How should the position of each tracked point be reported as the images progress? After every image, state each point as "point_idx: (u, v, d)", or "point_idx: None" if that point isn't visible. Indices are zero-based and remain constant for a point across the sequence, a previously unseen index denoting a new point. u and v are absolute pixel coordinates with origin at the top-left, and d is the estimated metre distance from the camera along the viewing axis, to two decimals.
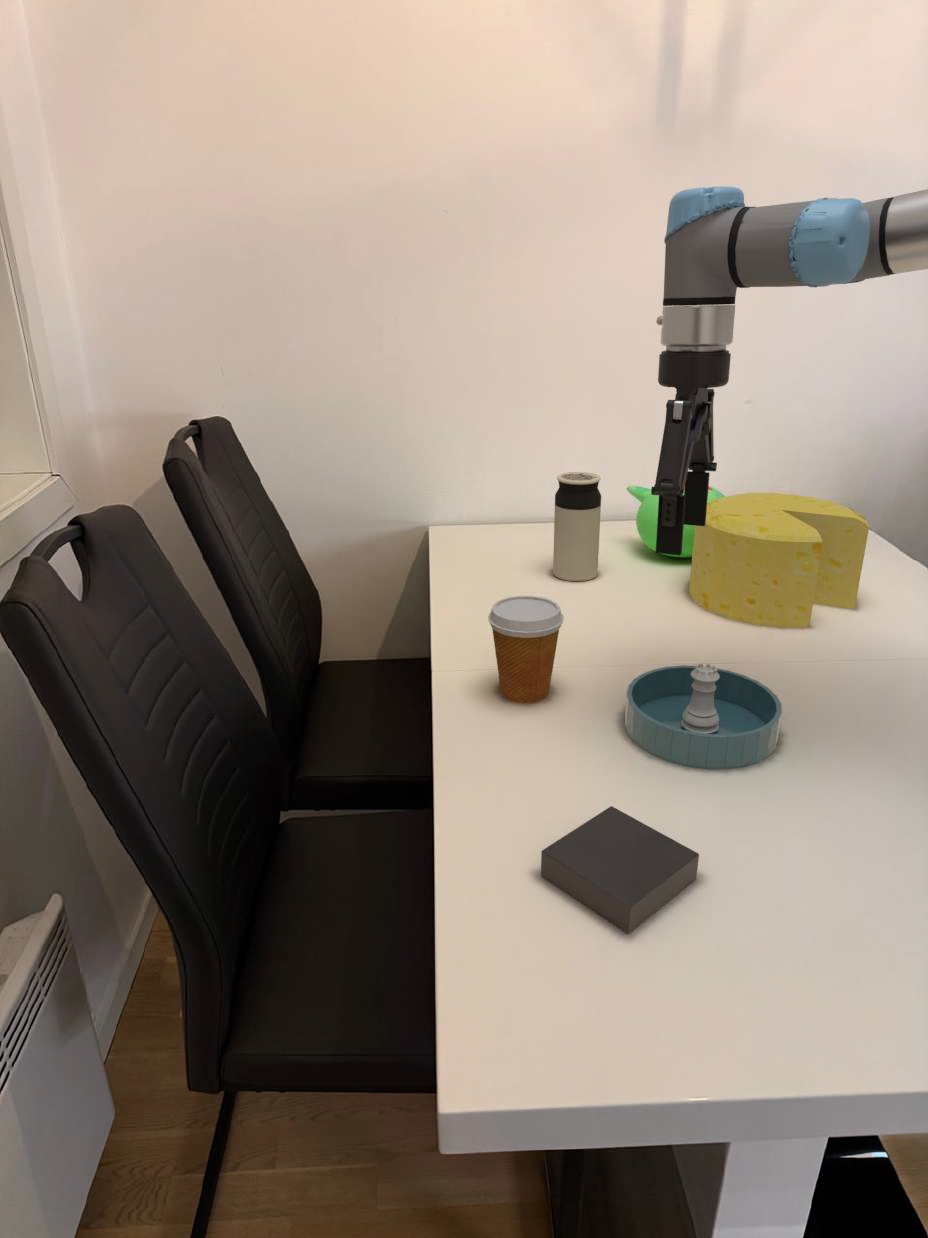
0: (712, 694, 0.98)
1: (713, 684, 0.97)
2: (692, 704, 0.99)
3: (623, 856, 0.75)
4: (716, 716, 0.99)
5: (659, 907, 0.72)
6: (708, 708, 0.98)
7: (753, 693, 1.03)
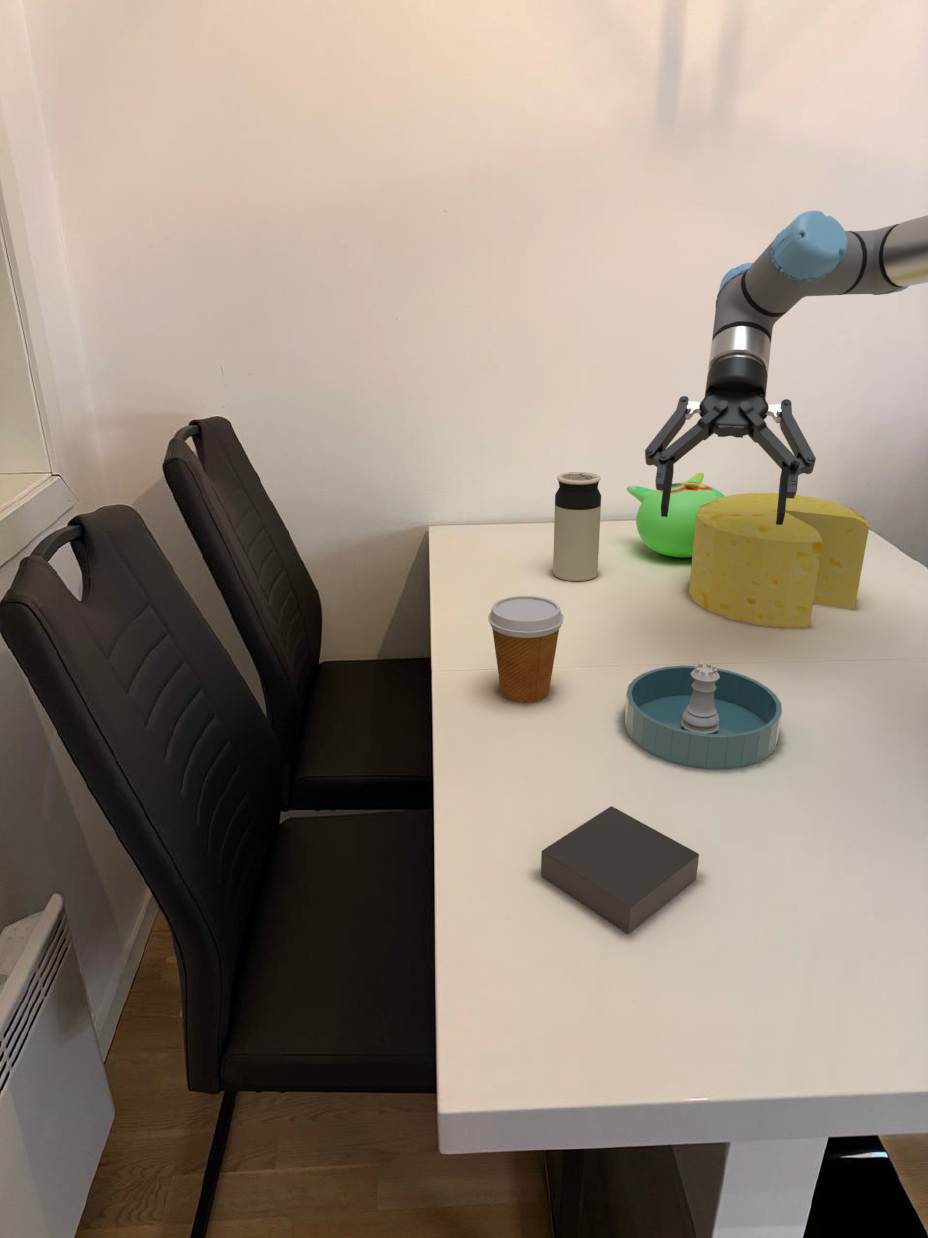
0: (712, 694, 0.98)
1: (713, 684, 0.97)
2: (692, 704, 0.99)
3: (623, 856, 0.75)
4: (716, 716, 0.99)
5: (659, 907, 0.72)
6: (708, 708, 0.98)
7: (753, 693, 1.03)
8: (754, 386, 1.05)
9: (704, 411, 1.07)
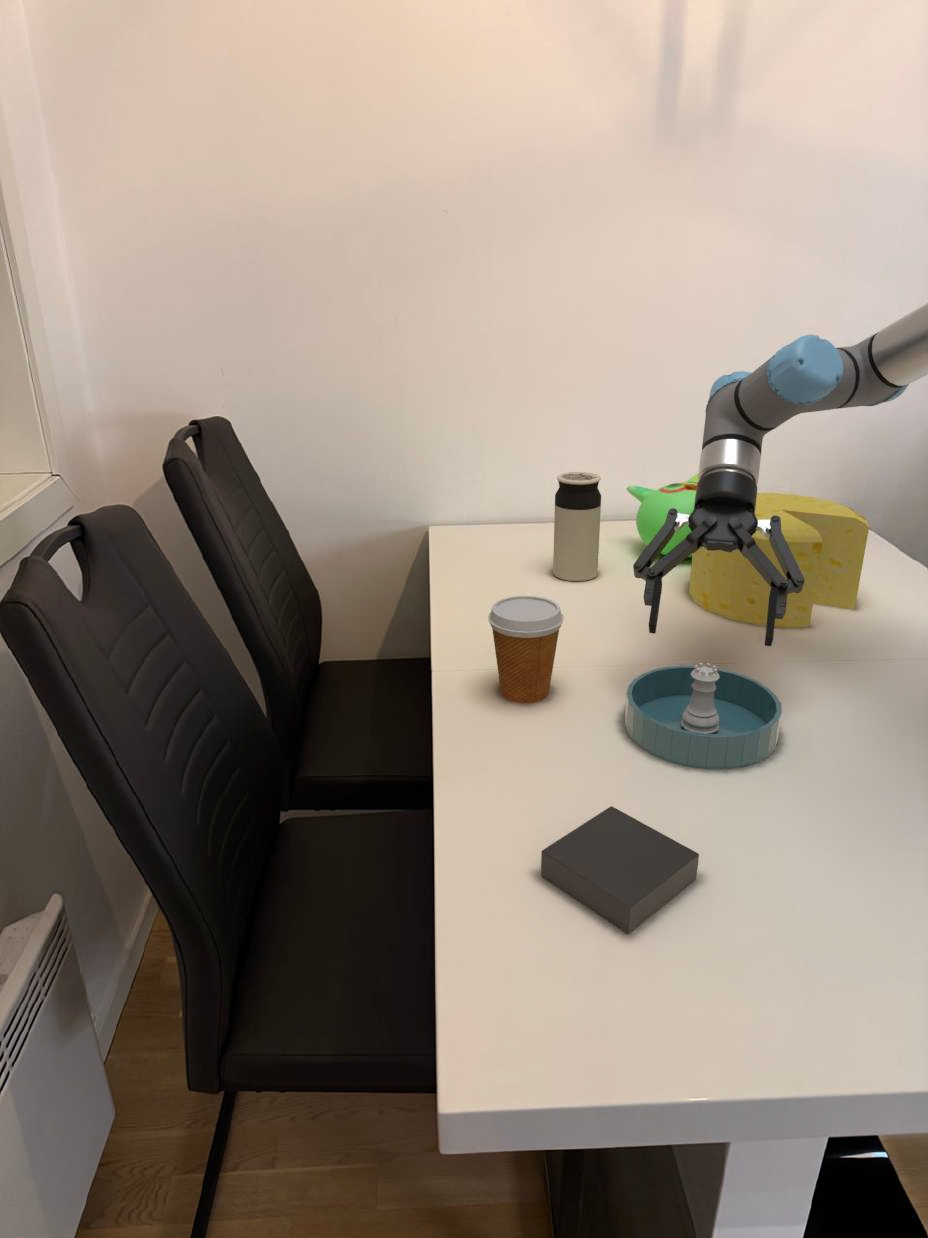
0: (712, 694, 0.98)
1: (713, 684, 0.97)
2: (692, 704, 0.99)
3: (623, 856, 0.75)
4: (716, 716, 0.99)
5: (659, 907, 0.72)
6: (708, 708, 0.98)
7: (753, 693, 1.03)
8: (743, 502, 1.04)
9: (693, 525, 1.06)
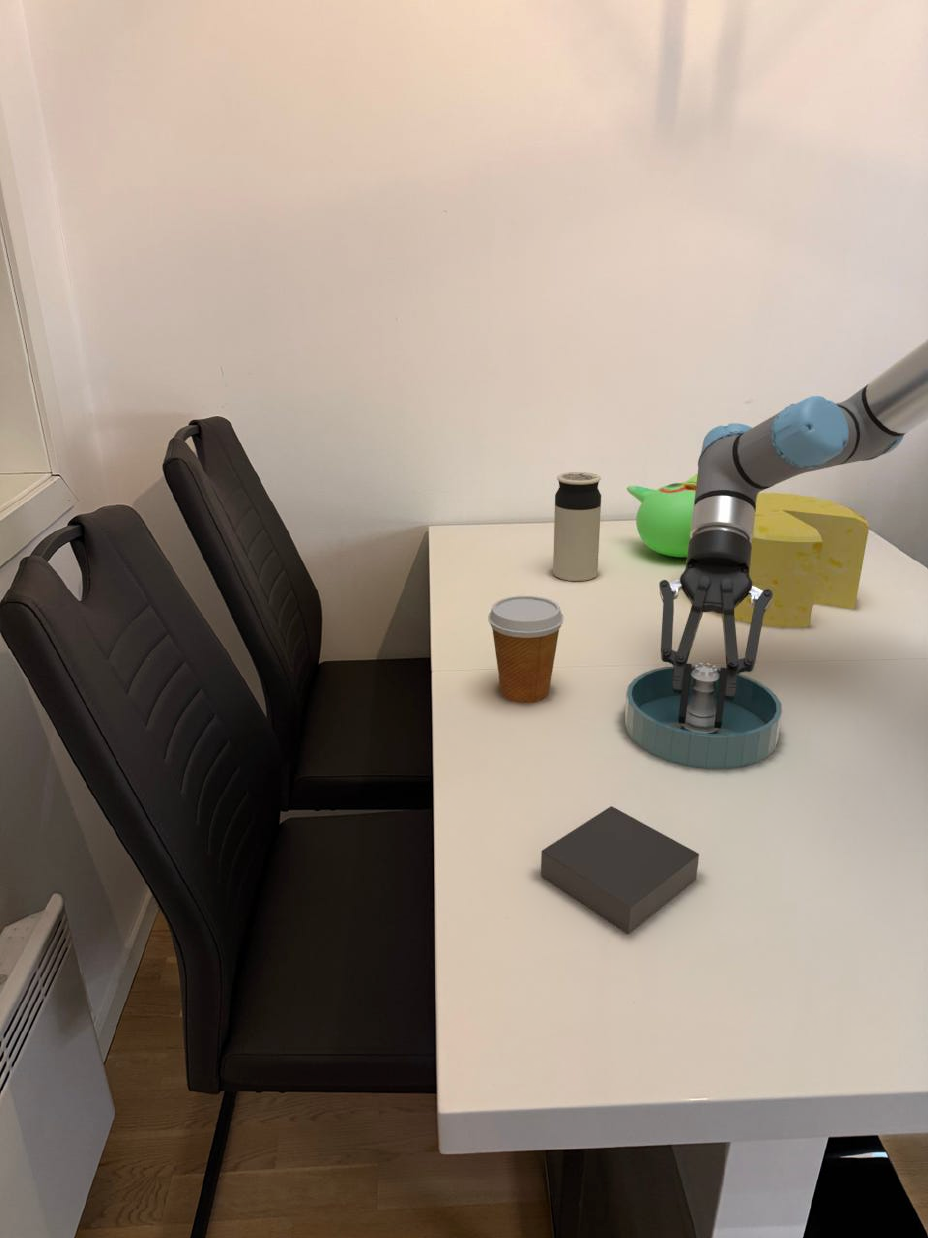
0: (712, 694, 0.98)
1: (713, 684, 0.97)
2: (692, 704, 0.99)
3: (623, 856, 0.75)
4: None
5: (659, 907, 0.72)
6: (708, 708, 0.98)
7: (753, 693, 1.03)
8: (737, 562, 1.00)
9: None
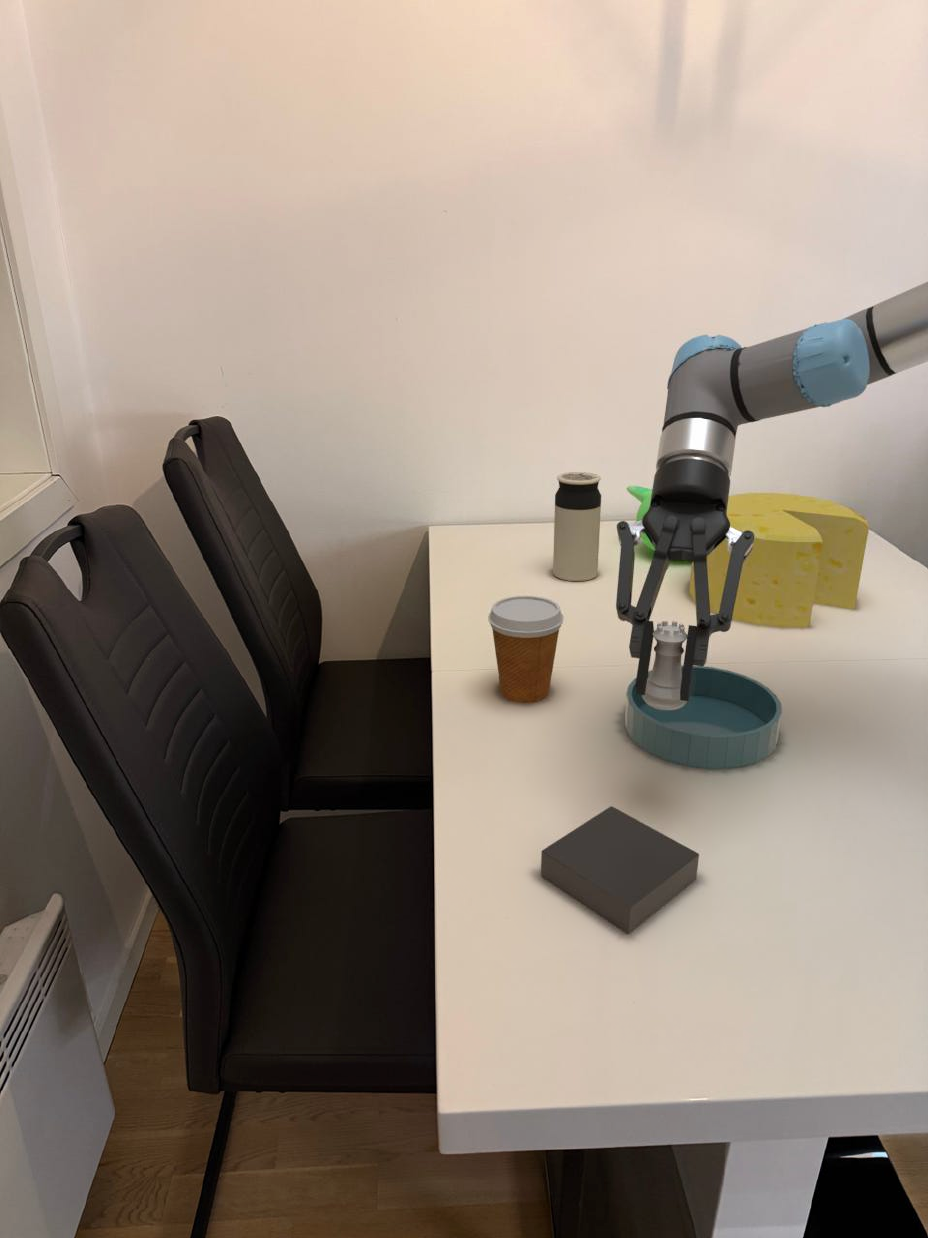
0: (679, 659, 0.79)
1: (680, 646, 0.79)
2: (655, 671, 0.80)
3: (623, 856, 0.75)
4: None
5: (659, 907, 0.72)
6: (674, 676, 0.79)
7: (753, 693, 1.03)
8: (711, 498, 0.81)
9: None
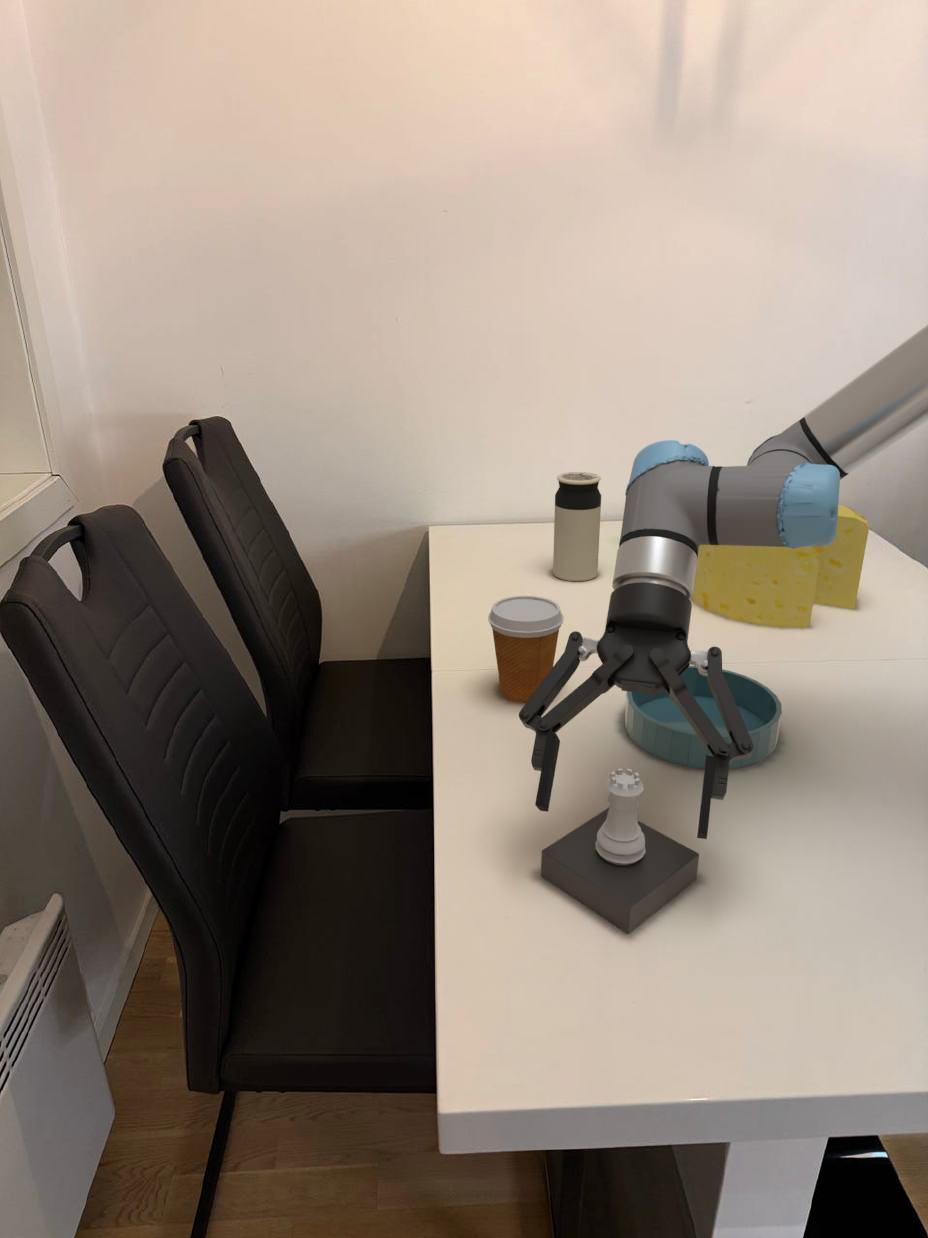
0: (634, 811, 0.73)
1: (635, 799, 0.72)
2: (609, 823, 0.74)
3: None
4: (640, 839, 0.74)
5: (659, 907, 0.72)
6: (629, 830, 0.73)
7: (753, 693, 1.03)
8: (670, 627, 0.75)
9: (602, 656, 0.76)
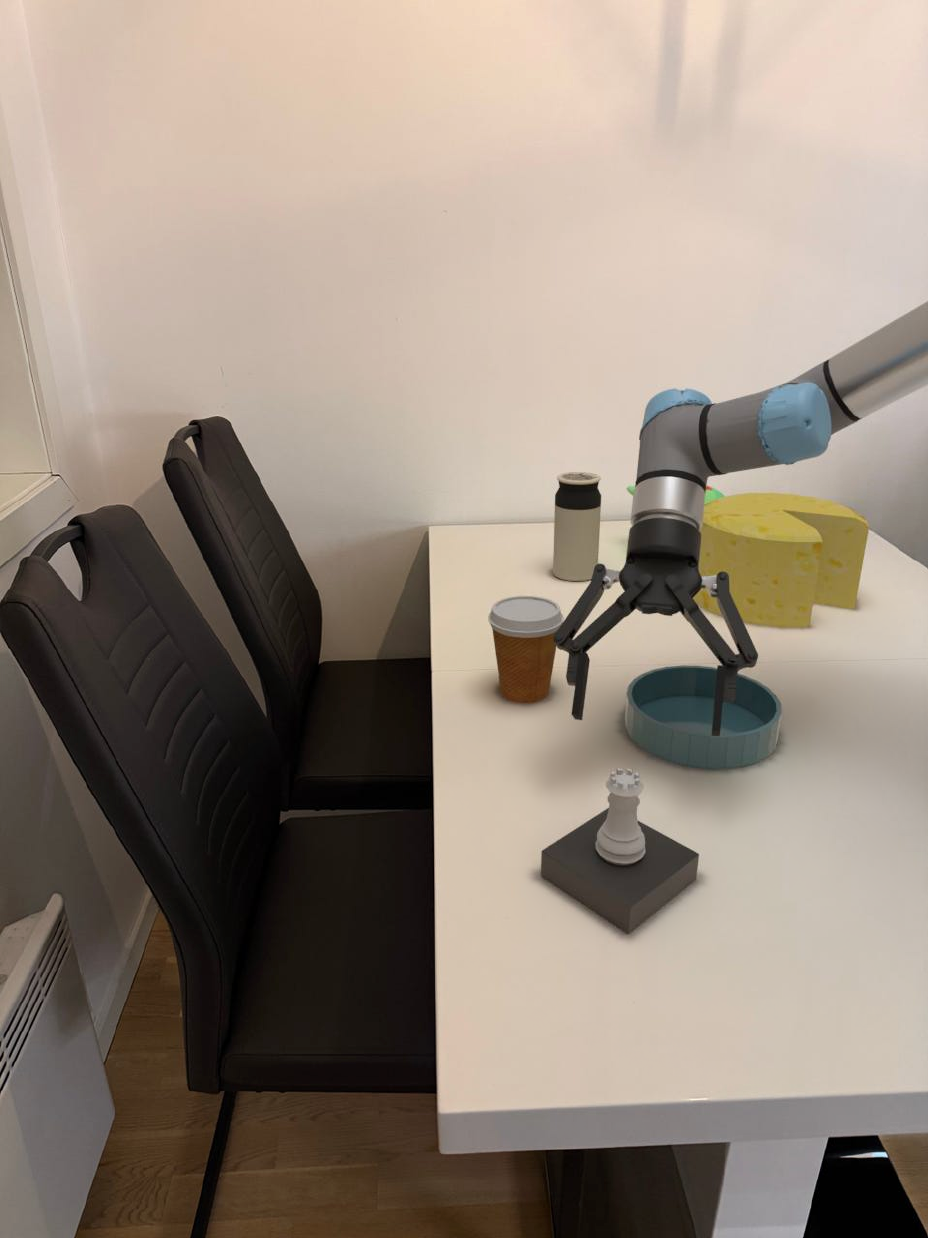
0: (634, 811, 0.73)
1: (635, 799, 0.72)
2: (609, 823, 0.74)
3: None
4: (640, 839, 0.74)
5: (659, 907, 0.72)
6: (629, 830, 0.73)
7: (753, 693, 1.03)
8: (683, 556, 0.85)
9: (624, 584, 0.87)
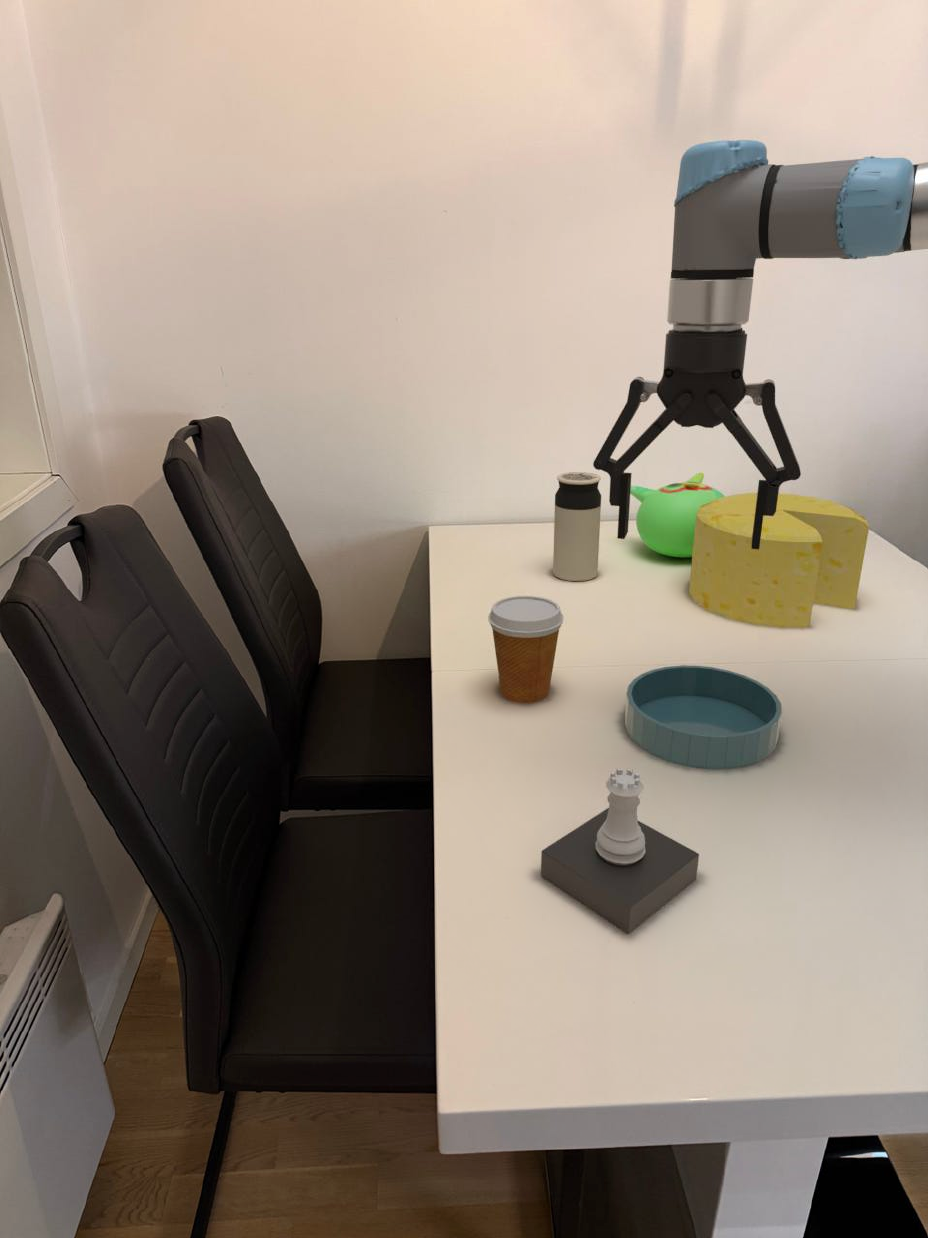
0: (634, 811, 0.73)
1: (635, 799, 0.72)
2: (609, 823, 0.74)
3: None
4: (640, 839, 0.74)
5: (659, 907, 0.72)
6: (629, 830, 0.73)
7: (753, 693, 1.03)
8: (726, 373, 0.79)
9: (663, 401, 0.83)
